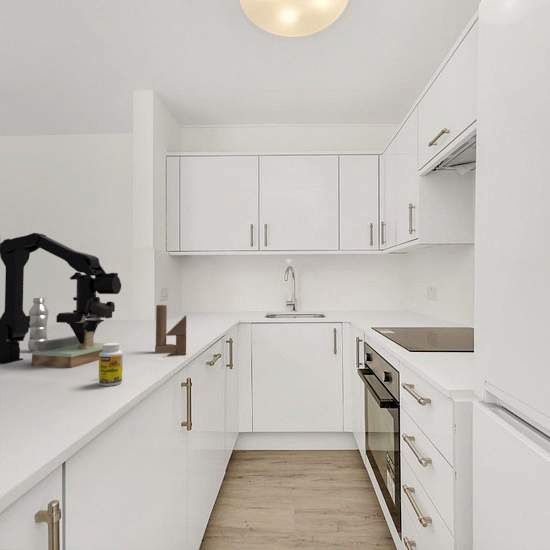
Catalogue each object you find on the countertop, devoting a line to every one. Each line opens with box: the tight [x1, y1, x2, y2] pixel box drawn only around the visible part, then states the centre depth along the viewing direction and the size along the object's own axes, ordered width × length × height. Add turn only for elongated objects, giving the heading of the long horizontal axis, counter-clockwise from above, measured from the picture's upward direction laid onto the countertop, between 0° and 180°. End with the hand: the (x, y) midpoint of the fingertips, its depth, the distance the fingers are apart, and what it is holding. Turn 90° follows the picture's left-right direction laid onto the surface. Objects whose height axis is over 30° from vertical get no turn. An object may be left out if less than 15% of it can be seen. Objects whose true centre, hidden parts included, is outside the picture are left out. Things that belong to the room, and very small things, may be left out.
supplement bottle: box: [98, 342, 124, 387], centre depth 99 cm, size 6×6×10 cm
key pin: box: [78, 331, 95, 349], centre depth 123 cm, size 3×3×9 cm
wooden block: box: [154, 304, 187, 357], centre depth 139 cm, size 4×11×18 cm, turn 104°
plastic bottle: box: [27, 297, 49, 352], centre depth 145 cm, size 6×7×20 cm
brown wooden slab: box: [31, 350, 103, 369], centre depth 124 cm, size 14×20×4 cm
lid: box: [31, 335, 107, 357], centre depth 124 cm, size 14×20×4 cm
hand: (85, 342), depth 123 cm, fingers closed on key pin, 3 cm apart
